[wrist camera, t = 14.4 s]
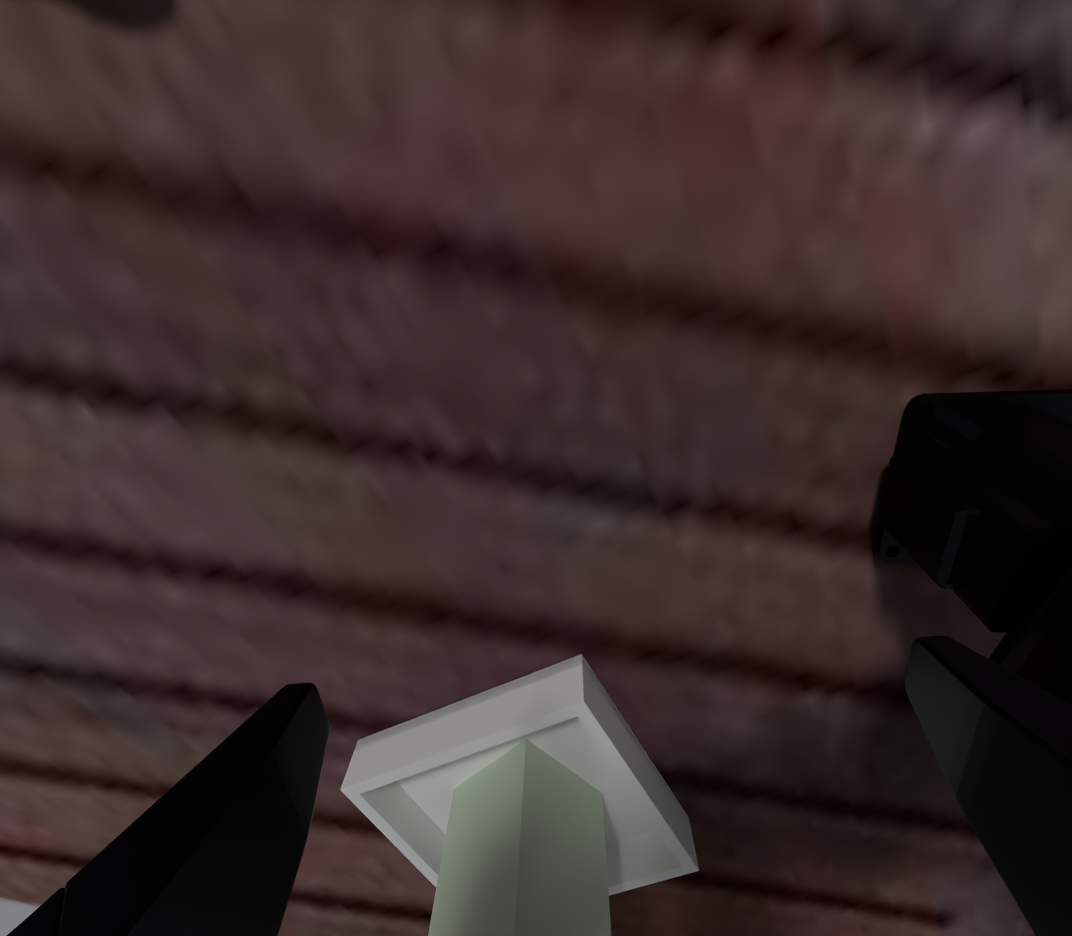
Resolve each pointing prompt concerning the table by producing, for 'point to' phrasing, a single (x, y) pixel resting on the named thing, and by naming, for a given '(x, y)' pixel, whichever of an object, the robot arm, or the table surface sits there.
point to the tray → (493, 729)
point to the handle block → (523, 853)
